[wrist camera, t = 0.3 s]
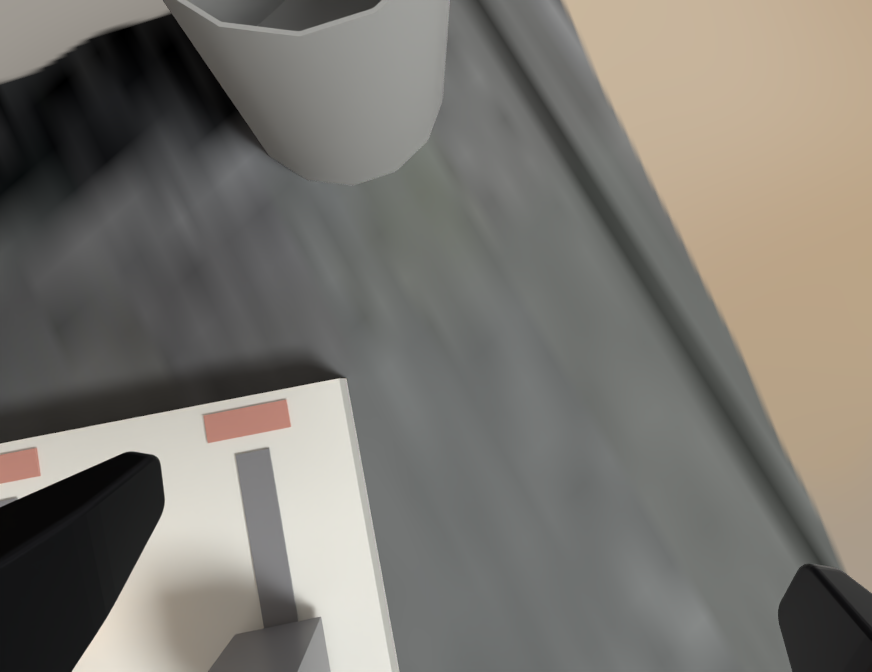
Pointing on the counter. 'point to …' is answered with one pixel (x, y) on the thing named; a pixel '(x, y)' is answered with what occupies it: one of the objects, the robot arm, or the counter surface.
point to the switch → (277, 649)
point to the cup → (327, 77)
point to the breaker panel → (234, 529)
